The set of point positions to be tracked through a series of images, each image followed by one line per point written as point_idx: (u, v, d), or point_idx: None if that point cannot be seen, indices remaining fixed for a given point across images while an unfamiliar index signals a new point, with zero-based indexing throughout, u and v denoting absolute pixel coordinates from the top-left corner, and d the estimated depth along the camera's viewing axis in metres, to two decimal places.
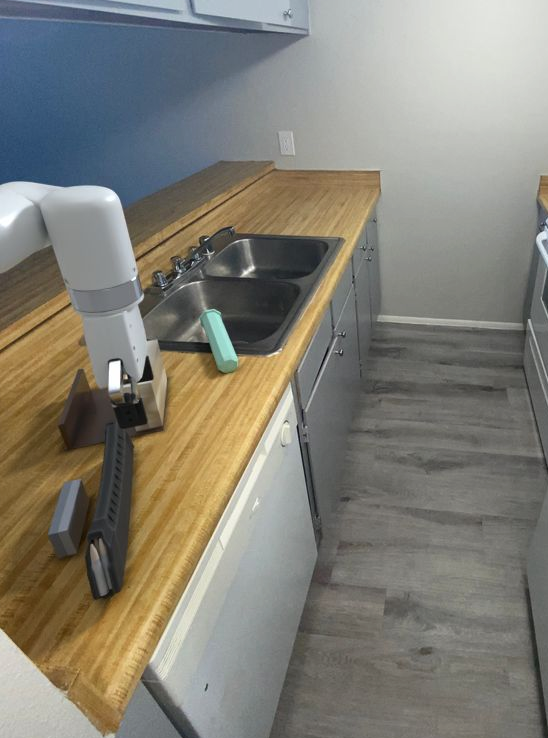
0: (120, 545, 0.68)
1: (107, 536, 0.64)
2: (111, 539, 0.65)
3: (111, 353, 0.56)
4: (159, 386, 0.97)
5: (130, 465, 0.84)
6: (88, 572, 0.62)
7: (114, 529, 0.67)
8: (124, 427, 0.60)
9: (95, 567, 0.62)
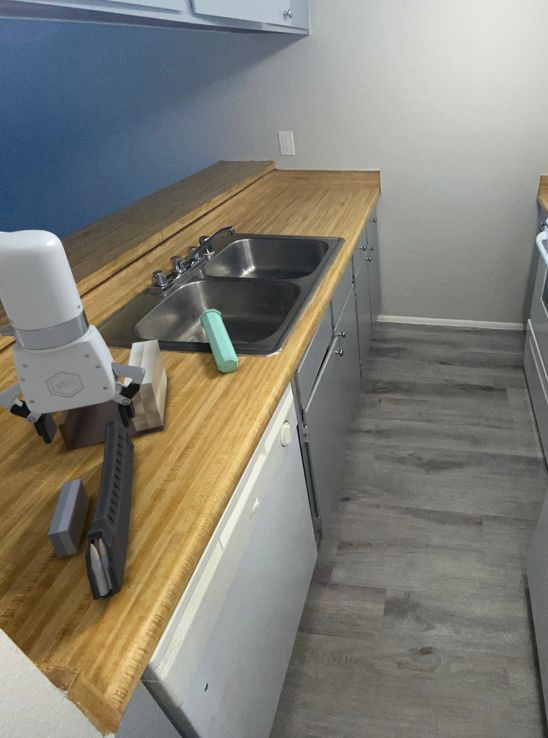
0: (120, 545, 0.68)
1: (107, 536, 0.64)
2: (111, 539, 0.65)
3: (109, 358, 0.64)
4: (159, 386, 0.97)
5: (130, 465, 0.84)
6: (88, 572, 0.62)
7: (114, 529, 0.67)
8: (129, 424, 0.69)
9: (95, 567, 0.62)
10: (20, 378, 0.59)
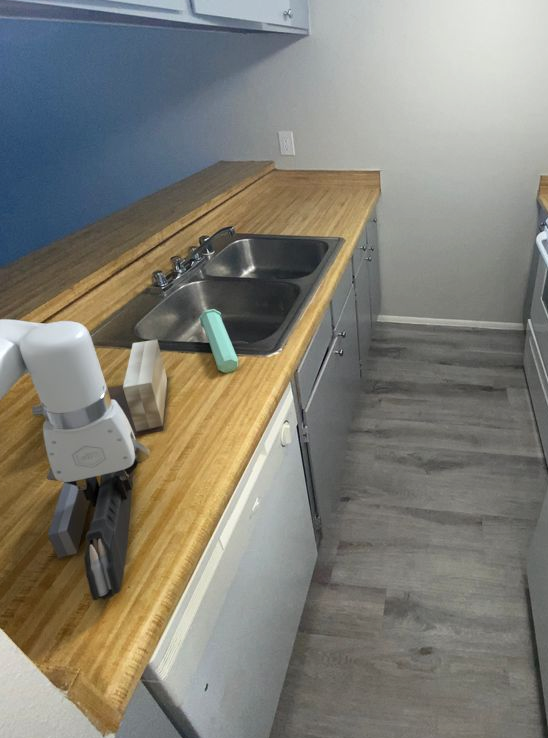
0: (120, 545, 0.68)
1: (106, 536, 0.64)
2: (110, 539, 0.65)
3: (129, 429, 0.70)
4: (159, 386, 0.97)
5: None
6: (87, 572, 0.62)
7: (113, 529, 0.67)
8: (127, 496, 0.74)
9: (94, 567, 0.62)
10: (49, 452, 0.65)
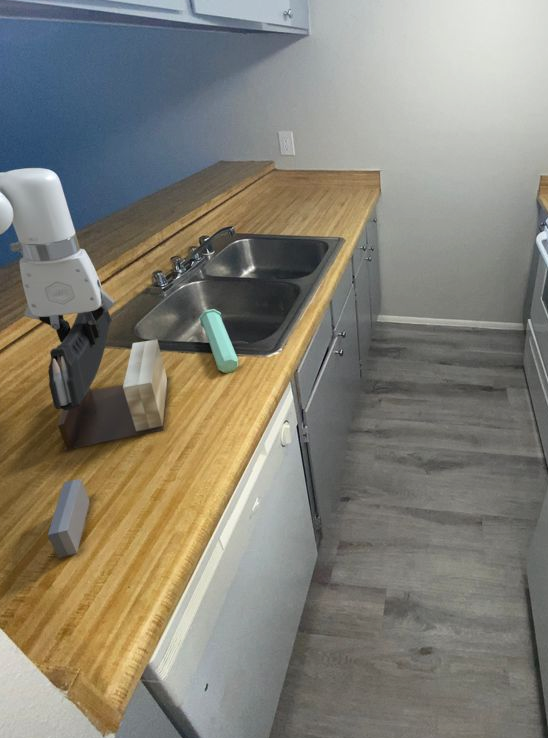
0: (83, 374, 0.79)
1: (69, 357, 0.75)
2: (72, 361, 0.75)
3: (95, 276, 0.81)
4: (159, 386, 0.97)
5: (104, 330, 0.94)
6: (50, 382, 0.73)
7: (77, 357, 0.77)
8: (95, 342, 0.85)
9: (56, 378, 0.73)
10: (25, 285, 0.76)
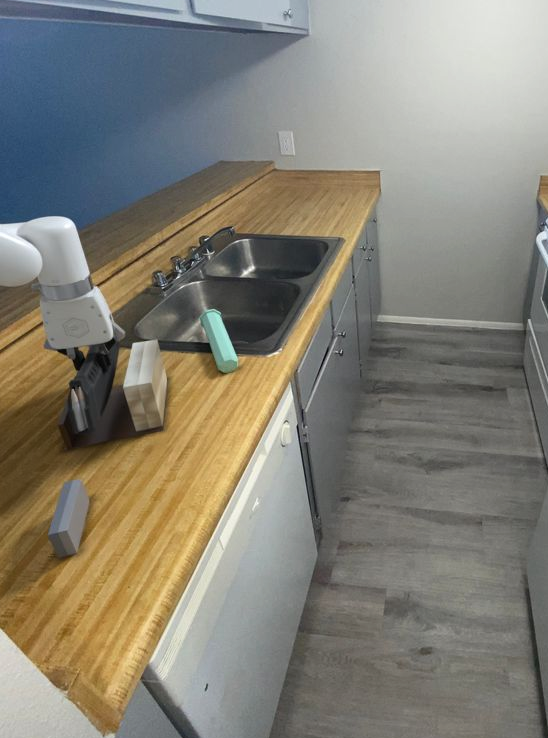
0: (97, 400, 0.86)
1: (85, 387, 0.82)
2: (88, 390, 0.83)
3: (108, 311, 0.89)
4: (159, 386, 0.97)
5: (115, 355, 1.02)
6: (69, 410, 0.80)
7: (92, 385, 0.85)
8: None
9: (74, 407, 0.80)
10: (45, 321, 0.83)
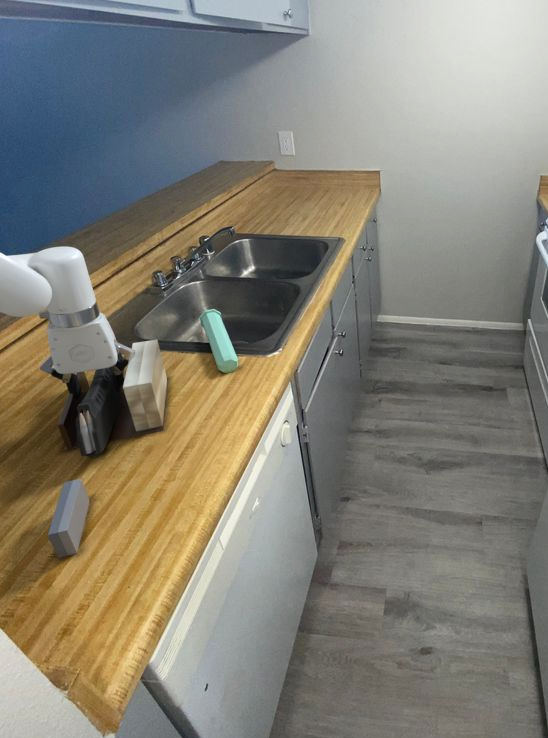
0: (104, 422, 0.89)
1: (93, 410, 0.85)
2: (96, 413, 0.85)
3: (113, 336, 0.91)
4: (159, 386, 0.97)
5: None
6: (77, 433, 0.83)
7: (99, 408, 0.87)
8: (120, 389, 0.95)
9: (83, 430, 0.83)
10: (52, 348, 0.86)
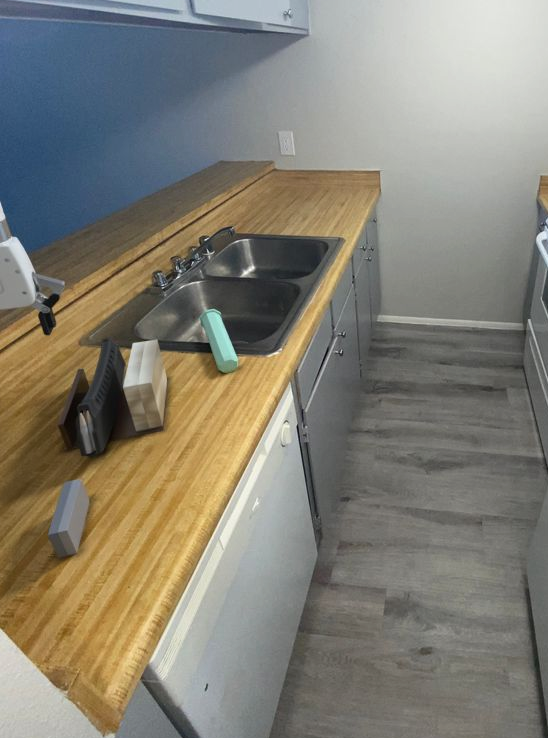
0: (104, 422, 0.89)
1: (93, 410, 0.85)
2: (96, 413, 0.85)
3: (30, 268, 0.72)
4: (159, 386, 0.97)
5: (120, 375, 1.04)
6: (77, 433, 0.83)
7: (99, 408, 0.87)
8: (50, 333, 0.76)
9: (83, 430, 0.83)
10: None
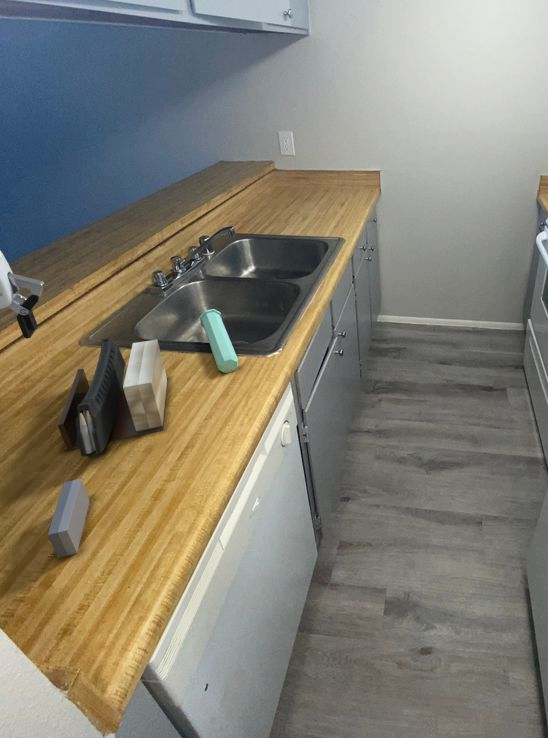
0: (104, 422, 0.89)
1: (93, 410, 0.85)
2: (96, 413, 0.85)
3: (5, 268, 0.68)
4: (159, 386, 0.97)
5: (120, 375, 1.04)
6: (77, 433, 0.83)
7: (99, 408, 0.87)
8: (30, 336, 0.73)
9: (83, 430, 0.83)
10: None
